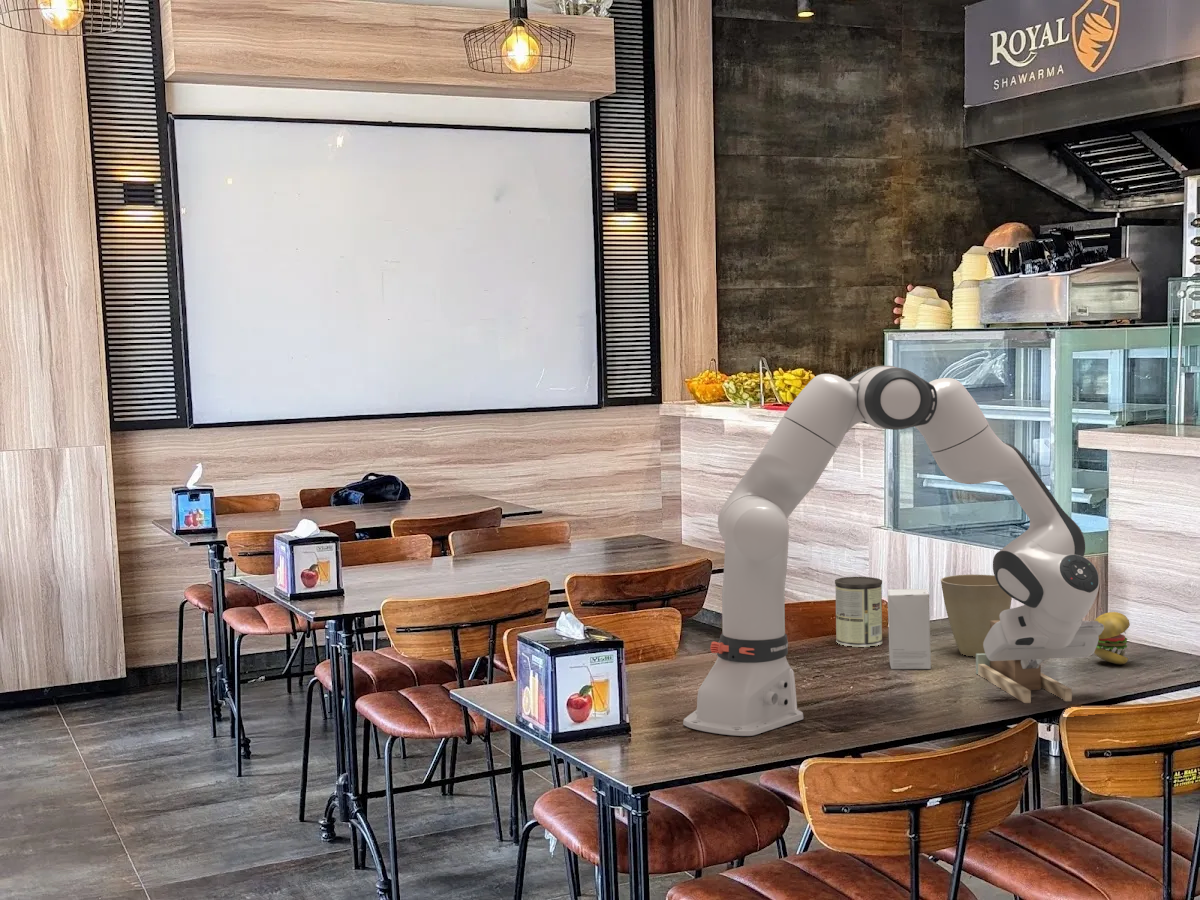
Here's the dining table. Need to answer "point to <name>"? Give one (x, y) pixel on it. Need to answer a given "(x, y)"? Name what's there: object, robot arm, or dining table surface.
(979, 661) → the end stop
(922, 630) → the skincare box
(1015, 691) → the chute
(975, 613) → the plant pot
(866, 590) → the coffee can
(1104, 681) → the dining table surface
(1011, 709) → the dining table surface
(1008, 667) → the block
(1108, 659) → the hamburger
